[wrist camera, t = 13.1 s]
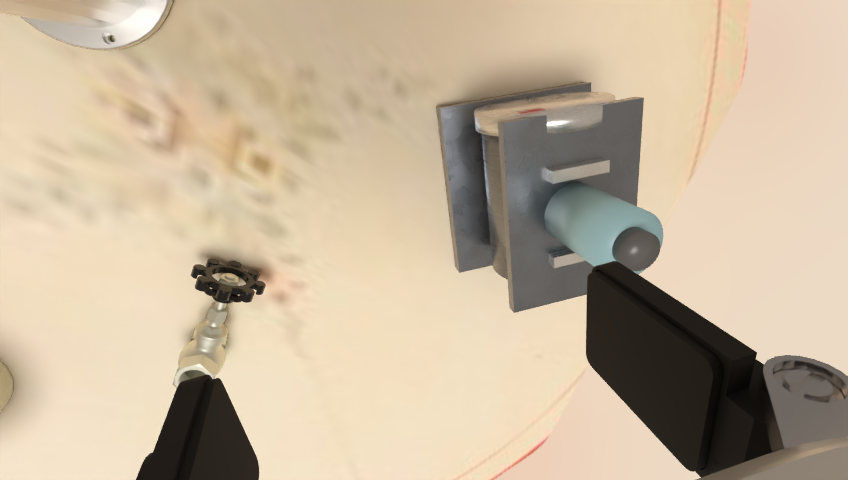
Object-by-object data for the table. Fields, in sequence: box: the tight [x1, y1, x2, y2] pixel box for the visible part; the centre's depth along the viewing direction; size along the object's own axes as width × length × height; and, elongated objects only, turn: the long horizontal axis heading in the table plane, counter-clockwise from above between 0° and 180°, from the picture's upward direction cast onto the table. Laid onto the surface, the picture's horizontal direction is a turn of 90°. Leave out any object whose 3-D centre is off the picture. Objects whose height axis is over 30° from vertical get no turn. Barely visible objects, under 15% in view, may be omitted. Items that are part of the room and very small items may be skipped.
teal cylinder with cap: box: [544, 183, 663, 274], centre depth 33 cm, size 5×5×9 cm
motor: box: [436, 82, 644, 313], centre depth 42 cm, size 18×16×13 cm
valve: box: [173, 259, 266, 388], centre depth 43 cm, size 7×7×12 cm
